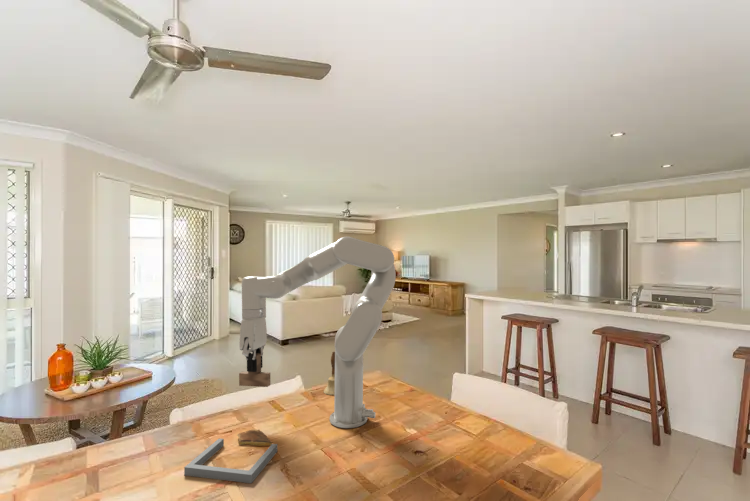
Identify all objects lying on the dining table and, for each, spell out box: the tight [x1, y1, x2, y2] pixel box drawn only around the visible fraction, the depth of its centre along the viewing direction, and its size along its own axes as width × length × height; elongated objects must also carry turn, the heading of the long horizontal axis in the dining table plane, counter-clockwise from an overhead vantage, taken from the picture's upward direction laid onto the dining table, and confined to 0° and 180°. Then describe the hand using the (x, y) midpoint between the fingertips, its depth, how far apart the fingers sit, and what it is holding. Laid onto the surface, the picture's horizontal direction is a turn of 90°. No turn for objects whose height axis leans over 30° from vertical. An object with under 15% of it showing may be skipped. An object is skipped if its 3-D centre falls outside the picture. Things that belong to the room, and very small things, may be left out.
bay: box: [183, 438, 279, 484], centre depth 95 cm, size 18×14×2 cm
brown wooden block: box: [238, 353, 272, 388], centre depth 118 cm, size 10×3×10 cm, turn 80°
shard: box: [236, 429, 274, 447], centre depth 105 cm, size 11×8×2 cm
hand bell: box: [323, 351, 335, 396], centre depth 146 cm, size 8×8×16 cm
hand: (254, 369), depth 118 cm, fingers closed on brown wooden block, 3 cm apart
